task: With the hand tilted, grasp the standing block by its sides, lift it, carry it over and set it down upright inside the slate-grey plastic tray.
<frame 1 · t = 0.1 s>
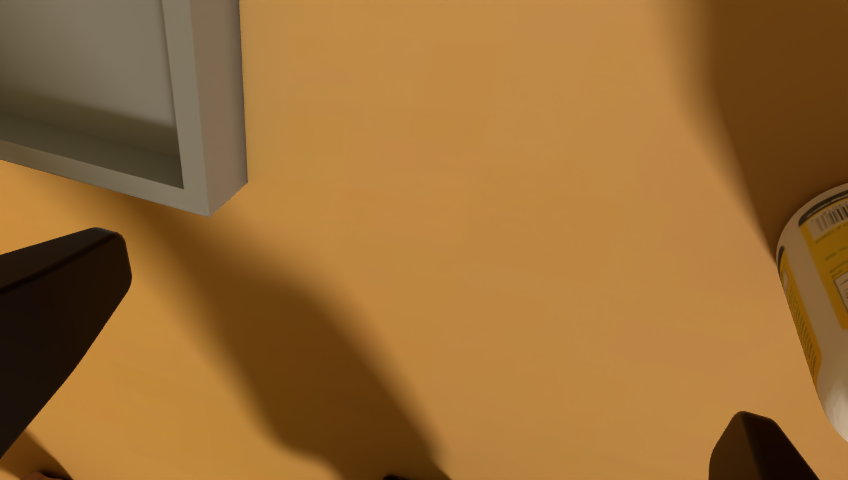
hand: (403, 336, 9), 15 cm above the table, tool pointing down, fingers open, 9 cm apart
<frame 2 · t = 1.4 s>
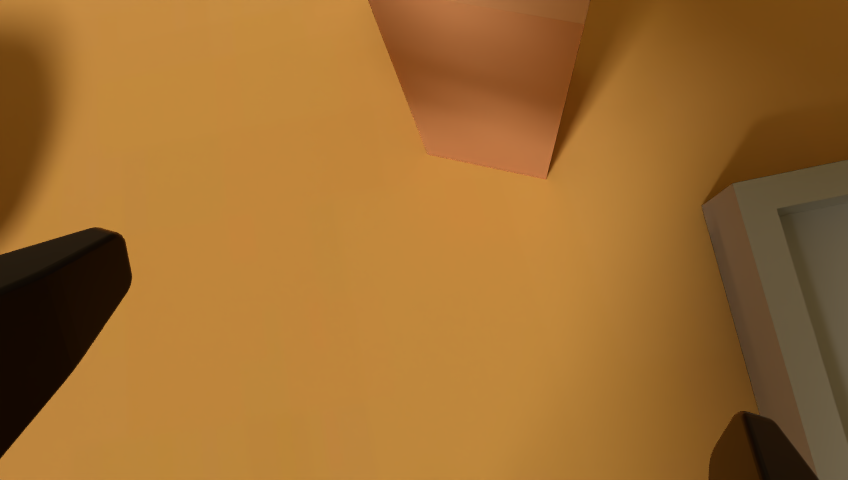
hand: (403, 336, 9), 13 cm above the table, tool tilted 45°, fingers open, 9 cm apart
block: (499, 110, 23), on the table
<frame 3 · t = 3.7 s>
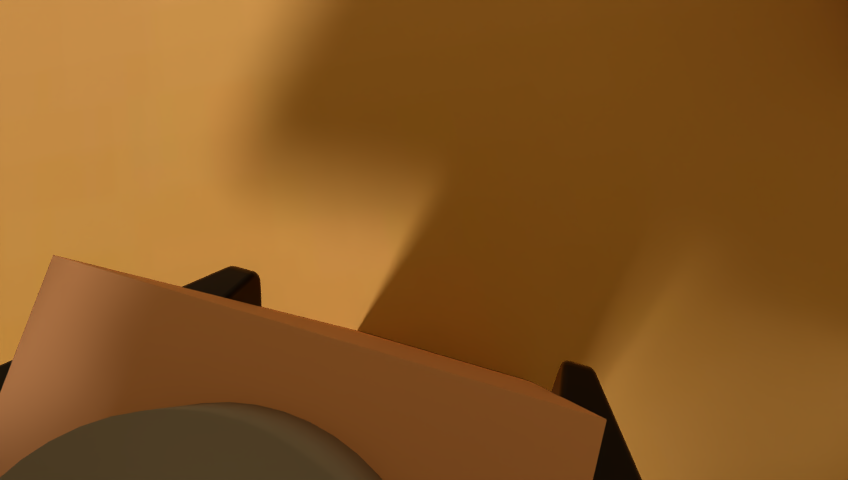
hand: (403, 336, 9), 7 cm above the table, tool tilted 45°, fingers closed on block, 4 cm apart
block: (416, 445, 15), on the table, touching gripper
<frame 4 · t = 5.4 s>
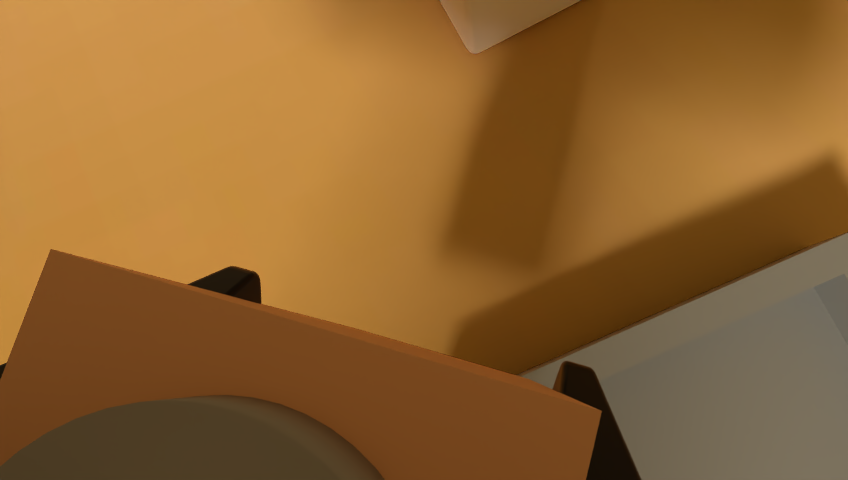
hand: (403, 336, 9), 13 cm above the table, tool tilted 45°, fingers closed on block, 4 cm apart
block: (414, 443, 15), point 7 cm above the table, touching gripper
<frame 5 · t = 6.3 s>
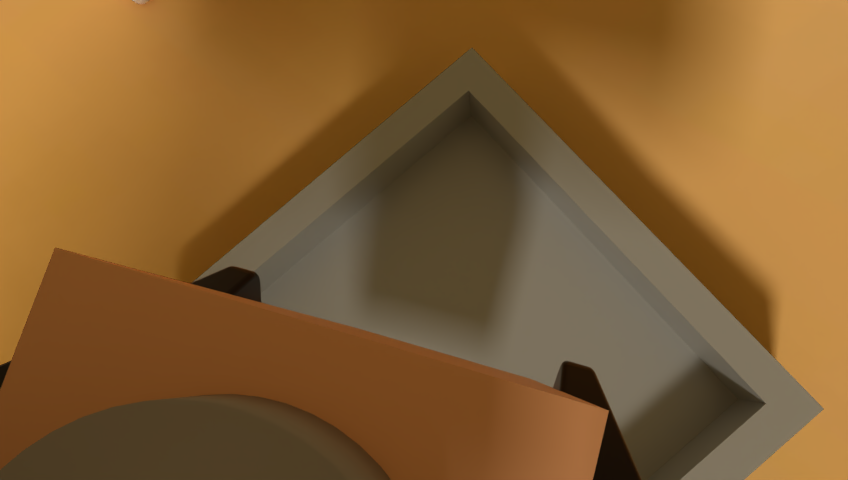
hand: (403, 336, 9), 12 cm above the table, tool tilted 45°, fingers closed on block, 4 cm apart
block: (416, 443, 15), point 6 cm above the table, touching gripper
tray: (453, 372, 21), on the table
when the fingers open (9 cm above the table, at t = 7.0 s): block drops 2 cm, resting on tray.
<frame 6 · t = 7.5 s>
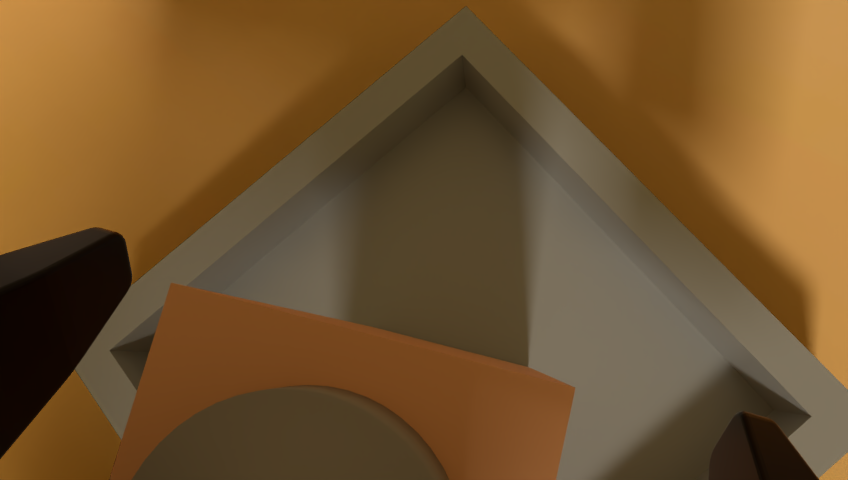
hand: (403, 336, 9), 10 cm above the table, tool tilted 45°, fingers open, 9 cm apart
block: (429, 427, 17), point 1 cm above the table, touching tray
tray: (445, 378, 18), on the table
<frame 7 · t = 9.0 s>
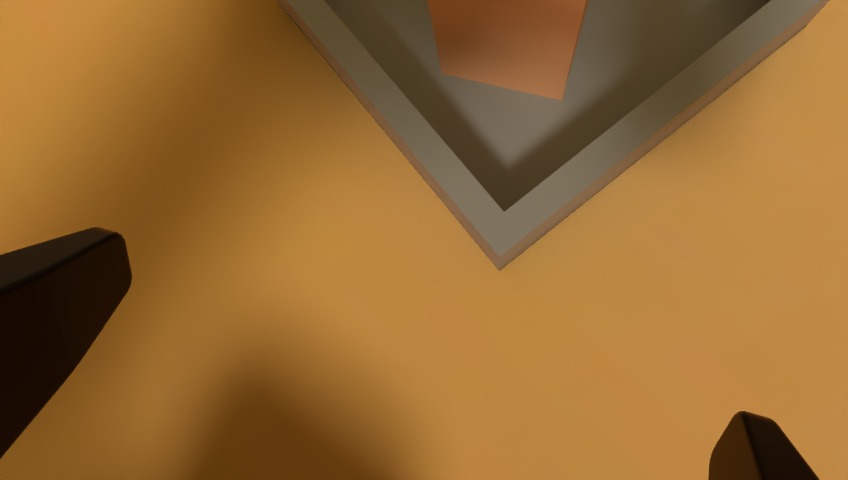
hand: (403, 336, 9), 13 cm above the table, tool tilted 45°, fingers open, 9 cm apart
block: (516, 31, 23), point 1 cm above the table, touching tray
tray: (526, 14, 24), on the table
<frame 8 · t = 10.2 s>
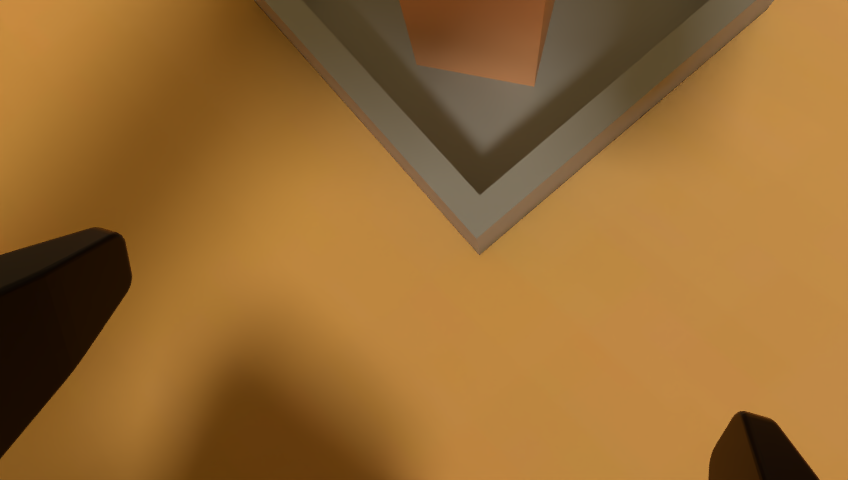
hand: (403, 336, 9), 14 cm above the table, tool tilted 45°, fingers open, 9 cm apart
block: (488, 21, 23), point 1 cm above the table, touching tray
tray: (497, 4, 25), on the table
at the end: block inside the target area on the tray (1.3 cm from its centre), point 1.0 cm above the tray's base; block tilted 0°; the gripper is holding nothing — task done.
